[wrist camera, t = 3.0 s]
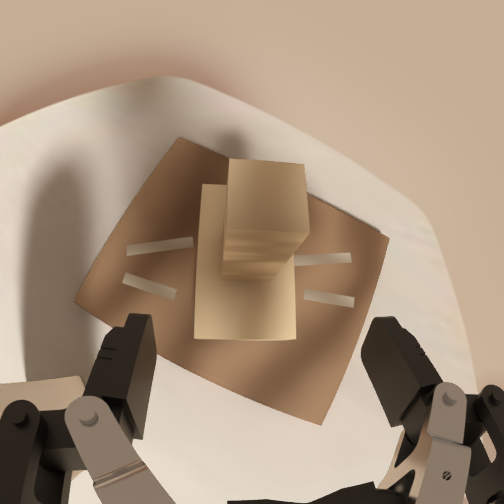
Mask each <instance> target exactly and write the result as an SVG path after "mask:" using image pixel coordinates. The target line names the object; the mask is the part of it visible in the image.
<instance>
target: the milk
mask: <svg viewBox="0 0 504 504" xmlns="http://www.w3.org/2000/svg"><path fill="white" fill-rule="evenodd" d="M84 390H85V387H84V385H83V382H82V380H81V377H80V376H79V375H78V376H70V377H63V378H55V379H47V380H38V381H28V382H18V383H5V384H0V419H1V416H2V413H3V411H4V409H5V408H6V407H7V406H8V405H9V404H10V403H12V402H13V401H16V400H27V401H30V402H32V403H33V404H34V405H35V406H36V407H37V409H38V410H39V411H45V410H60V409H65V408H67V407H68V405H69V404H70V403H71V402H72V401H73V400H75V399H77V398H79V397H82V395H83V393H84ZM82 471H84V470H77V471H72V478H71V481H72V480H73V479H74V478H75V477H77V476H78V475H79V474H80V473H81V472H82Z"/></svg>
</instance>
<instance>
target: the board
mask: <svg viewBox="0 0 504 504" xmlns="http://www.w3.org/2000/svg"><path fill="white" fill-rule="evenodd" d="M229 159H230V158H227V157H225V156H223V155H220V154H218V153H216V152H213V151H211V150H208V149H206V148H203V147H201V146H199V145H196V144H194V143H191V142H189V141H186V140H184V139H181V138H178V139H177V140H176V142H175V143H174V144H173V145H172V147H171V148H170V149H169V151H168V152H167V153H166V155H165V156H164V157H163V159H162V160H161V161H160V163H159V164H158V165H157V167H156V168H155V169H154V171H153V172H152V174H151V175H150V176H149V178H148V179H147V181H146V182H145V183H144V185H143V186H142V188H141V189H140V191H139V192H138V194H137V195H136V196H135V198H134V199H133V201H132V202H131V204H130V205H129V207H128V208H127V210H126V212H125V213H124V215H123V216H122V218H121V219H120V221H119V222H118V224H117V226H116V227H115V229H114V230H113V232H112V234H111V235H110V237H109V239H108V240H107V242H106V244H105V245H104V247H103V249H102V250H101V252H100V254H99V255H98V257H97V259H96V261H95V262H94V264H93V266H92V268H91V269H90V271H89V273H88V275H87V277H86V279H85V280H84V282H83V284H82V286H81V288H80V290H79V292H78V294H77V296H76V297H75V299H74V301H73V302H74V303H76V304H77V305H79V306H80V307H82V308H83V309H85V310H86V311H88V312H89V313H91V314H92V315H94V316H95V317H97V318H98V319H100V320H101V321H103V322H104V323H106V324H107V325H109V326H111V327H112V328H114V327H115V326H118V327H124V325H125V322H126V320H127V317H128V315H129V313H139V314H151V316H152V321H153V328H154V335H155V341H156V349H157V354H158V355H160V356H162V357H163V358H165V359H167V360H169V361H171V362H173V363H175V364H177V365H178V366H180V367H182V368H184V369H186V370H188V371H190V372H192V373H194V374H196V375H198V376H200V377H202V378H204V379H206V380H209V381H211V382H213V383H215V384H217V385H219V386H221V387H223V388H226V389H228V390H230V391H232V392H235V393H237V394H239V395H242V396H244V397H246V398H249V399H251V400H253V401H256V402H258V403H261V404H263V405H266V406H268V407H271V408H273V409H276V410H278V411H281V412H284V413H286V414H289V415H292V416H295V417H297V418H300V419H303V420H306V421H309V422H312V423H315V424H318V425H322V423H323V421H324V419H325V417H326V415H327V412H328V410H329V408H330V406H331V404H332V402H333V399H334V397H335V395H336V393H337V390H338V388H339V386H340V383H341V381H342V379H343V376H344V374H345V372H346V369H347V367H348V364H349V362H350V359H351V357H352V354H353V351H354V349H355V346H356V344H357V341H358V338H359V336H360V333H361V330H362V327H363V324H364V322H365V319H366V316H367V313H368V310H369V307H370V304H371V301H372V298H373V295H374V291H375V288H376V285H377V282H378V278H379V275H380V272H381V268H382V265H383V261H384V258H385V254H386V250H387V246H388V243H389V239H390V238H388V237H387V236H385V235H383V234H381V233H380V232H378V231H376V230H374V229H372V228H371V227H369V226H367V225H365V224H363V223H361V222H359V221H358V220H356V219H354V218H352V217H350V216H348V215H346V214H345V213H343V212H341V211H339V210H337V209H335V208H333V207H331V206H329V205H327V204H325V203H323V202H321V201H319V200H317V199H315V198H313V197H311V196H309V195H307V201H308V213H309V226H310V234H309V235H308V236H307V238H306V239H305V240H304V241H303V243H302V244H301V245H300V246H299V248H298V249H297V250H296V251H295V253H294V273H295V306H296V339H293V340H285V341H228V340H197V339H195V338H194V320H195V291H196V269H197V251H198V235H199V221H200V207H201V195H202V184H216V185H227V179H228V168H229Z"/></svg>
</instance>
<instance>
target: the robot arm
mask: <svg viewBox="0 0 504 504" xmlns="http://www.w3.org/2000/svg"><path fill="white" fill-rule="evenodd" d="M156 357H157V349H156V341H155V335H154V328H153V321H152V316H151V314H139V313H129V315H128V317H127V320H126V322H125V325H124V327H118V326H115V327H114V328H113V329H112V330H111V331H110V332H108V333H107V334H106V335H105V337H104V340H103V342H102V345H101V349H100V350H99V353H98V355H97V359H96V360H95V363H94V366H93V368H92V371H91V374H90V376H89V379H88V382H87V385H86V387H85V390H84V393H83V395H82V397H79V398H77V399H75V400H73V401H72V402H71V403H70V404H69V405H68V407H67V408H65V409H60V410H45V411H39V410H38V409H37V407H36V406H35V405H34V404H33V403H32V402H30V401H27V400H16V401H13V402H12V403H10V404H9V405H8V406H7V407H6V408H5V409H4V411H3V413H2V416H1V419H0V504H68V499H69V492H70V484H71V478H72V471H77V470H88V472H89V474H90V476H91V478H92V480H93V482H94V484H93V487H94V489H95V491H96V493H97V495H98V497H99V499H100V500H101V502H102V504H176V503H175V502H174V501H173V500H172V498H171V497H170V496H169V495H168V493H167V492H166V491H165V490H164V488H163V487H162V486H161V484H160V483H159V482H158V480H157V479H156V478H155V476H154V475H153V474H152V472H151V471H150V470H149V468H148V467H147V466H146V464H145V463H144V462H143V461H142V460H141V458H140V457H139V456H138V454H137V453H136V451H135V450H134V448H133V446H132V441H133V438H134V439H141V440H143V433H144V427H145V421H146V415H147V409H148V403H149V397H150V391H151V386H152V381H153V375H154V370H155V365H156ZM361 359H362V362H363V365H364V367H365V369H366V371H367V373H368V376H369V378H370V380H371V382H372V384H373V387H374V389H375V391H376V393H377V396H378V398H379V400H380V402H381V405H382V407H383V409H384V412H385V414H386V416H387V419H388V421H389V423H390V426H391V427H395V426H399V425H403V427H404V430H403V431H402V432H401V435H400V438H399V441H398V444H397V447H396V450H395V453H394V456H393V459H392V462H391V464H390V467H389V470H388V472H387V474H386V476H385V477H384V479H383V480H382V481H381V483H380V484H379V486H378V488H375V485H374V482H373V481H372V482H368V483H365V484H360V485H356V486H352V487H348V488H343V489H340V490H338V491H336V492H333V493H331V494H329V495H327V496H324V497H322V498H319V499H317V500H315V501H312V502H309V503H294V502H284V501H276V500H268V499H263V500H241V501H227V504H462V502H463V498H464V494H466V497H467V500H468V502H469V504H504V391H503V390H502V389H501V388H499V387H497V386H495V385H487V386H486V387H484V389H483V390H482V391H481V393H480V394H479V395H474V394H465V393H464V392H463V391H462V389H461V388H460V387H458V386H457V385H455V384H453V383H449V382H443V380H442V379H441V377H440V376H439V374H438V372H437V371H436V369H435V368H434V366H433V364H432V363H431V361H430V360H429V358H428V357H427V355H425V352H424V350H423V349H422V348H420V344H419V343H418V341H417V340H416V338H415V337H414V336H413V335H412V334H411V333H409V332H408V331H407V330H406V329H405V328H402V327H401V325H400V324H399V322H398V321H397V319H396V318H395V317H393V316H388V317H375V318H374V319H373V321H372V323H371V325H370V328H369V330H368V333H367V335H366V338H365V340H364V343H363V345H362V348H361ZM486 431H487V432H488V434H489V436H490V438H491V440H492V442H493V444H494V447H495V449H496V453H497V455H496V458H495V460H494V461H493V463H491V462H490V460H489V457H488V455H487V453H486V451H485V448H484V446H483V444H482V442H481V440H480V437H481V436H482V435H483V434H484V433H485V432H486Z"/></svg>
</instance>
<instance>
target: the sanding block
mask: <svg viewBox="0 0 504 504" xmlns="http://www.w3.org/2000/svg"><path fill="white" fill-rule="evenodd" d="M309 234H310V226H309V213H308V201H307V189H306V179H305V168H304V164H295V163H284V162H273V161H260V160H246V159H229V168H228V179H227V185H216V184H202V195H201V207H200V221H199V235H198V251H197V269H196V291H195V320H194V338H195V339H197V340H228V341H285V340H293V339H296V306H295V273H294V253H295V251H296V250H297V249H298V248H299V246H300V245H301V244H302V243H303V241H304V240H305V239H306V238H307V236H308V235H309Z"/></svg>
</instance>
